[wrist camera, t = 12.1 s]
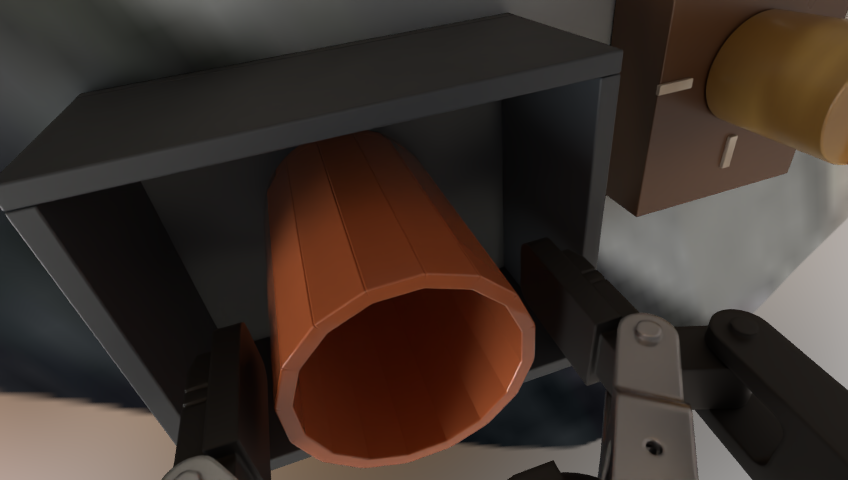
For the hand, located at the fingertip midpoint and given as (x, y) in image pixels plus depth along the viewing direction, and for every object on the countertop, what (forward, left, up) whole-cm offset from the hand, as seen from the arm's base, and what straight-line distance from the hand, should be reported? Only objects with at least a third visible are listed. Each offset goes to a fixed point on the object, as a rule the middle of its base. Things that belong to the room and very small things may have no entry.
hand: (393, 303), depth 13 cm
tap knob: (-3, +15, -4) cm, 16 cm away
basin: (0, 0, -7) cm, 7 cm away
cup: (0, 0, -6) cm, 6 cm away
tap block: (-3, +15, -7) cm, 17 cm away
